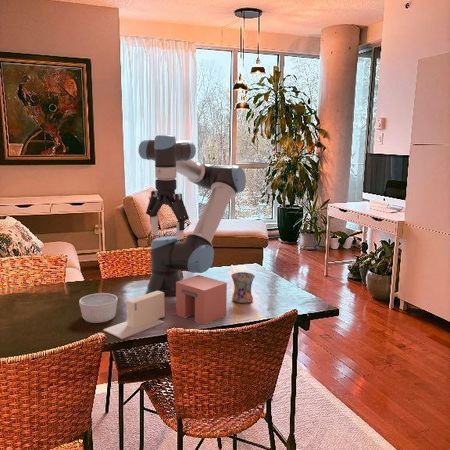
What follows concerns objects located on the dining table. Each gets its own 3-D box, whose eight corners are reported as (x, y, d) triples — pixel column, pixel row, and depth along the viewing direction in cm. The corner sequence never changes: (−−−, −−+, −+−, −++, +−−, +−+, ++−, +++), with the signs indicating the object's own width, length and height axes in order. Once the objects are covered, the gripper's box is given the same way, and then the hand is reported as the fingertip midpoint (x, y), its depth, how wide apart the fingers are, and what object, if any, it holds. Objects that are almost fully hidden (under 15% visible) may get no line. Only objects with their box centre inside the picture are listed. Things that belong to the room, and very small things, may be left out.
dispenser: (174, 315, 164) (174, 282, 162) (198, 306, 174) (198, 274, 172) (202, 325, 156) (202, 291, 153) (226, 315, 165) (226, 282, 163)
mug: (256, 304, 177) (257, 278, 175) (233, 305, 175) (234, 279, 173) (249, 294, 189) (249, 269, 187) (227, 295, 187) (227, 270, 185)
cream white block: (127, 325, 154) (126, 300, 152) (157, 314, 164) (157, 290, 163) (133, 328, 152) (133, 302, 150) (164, 316, 162) (164, 292, 161)
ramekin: (82, 327, 153) (81, 307, 152) (77, 313, 165) (77, 295, 164) (121, 321, 159) (120, 302, 157) (114, 308, 170) (113, 291, 169)
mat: (103, 330, 150) (103, 329, 150) (144, 315, 164) (144, 314, 164) (121, 339, 144) (121, 337, 144) (163, 322, 158) (163, 321, 158)
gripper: (135, 177, 167) (137, 233, 171) (183, 182, 151) (184, 243, 155) (150, 175, 172) (152, 229, 177) (198, 180, 157) (198, 239, 161)
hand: (167, 236), depth 166 cm, fingers open, 13 cm apart
